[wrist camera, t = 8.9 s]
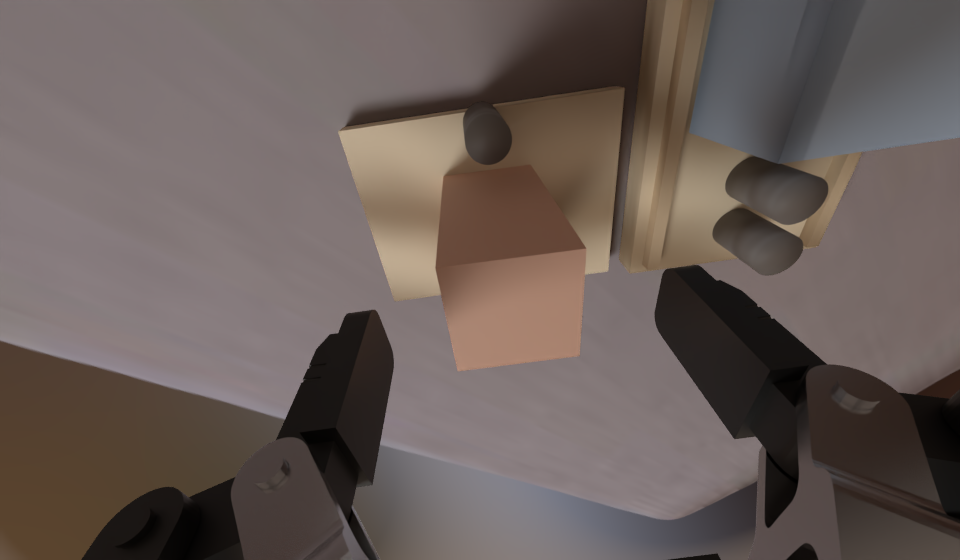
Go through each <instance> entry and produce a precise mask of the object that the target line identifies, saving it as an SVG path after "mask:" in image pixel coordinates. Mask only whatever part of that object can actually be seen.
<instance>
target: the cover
mask: <svg viewBox="0 0 960 560" xmlns="http://www.w3.org/2000/svg"><path fill="white" fill-rule="evenodd" d="M689 133H691V134H694V135H697V136H700V137H703V138H706V139H708V140H711V141H714V142H717V143H720V144H723V145H725V146H728V147H731V148H734V149H737V150H740V151H742V152H745V153H748V154H751V155H754V156H757V157H759V158H762V159H765V160H768V161H771V162H774V163H776V164H781V163H788V162H795V161H802V160H809V159H816V158H823V157H829V156H836V155H843V154H850V153H857V152H864V151H871V150H877V149H884V148H891V147H898V146H905V145H912V144H919V143H925V142H932V141H939V140H946V139H953V138H960V0H715V1H714V6H713V11H712V16H711V22H710V27H709V32H708V37H707V42H706V47H705V52H704V58H703V63H702V68H701V73H700V78H699V83H698V88H697V93H696V99H695V104H694V109H693V114H692V119H691V124H690V129H689Z"/></svg>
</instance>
